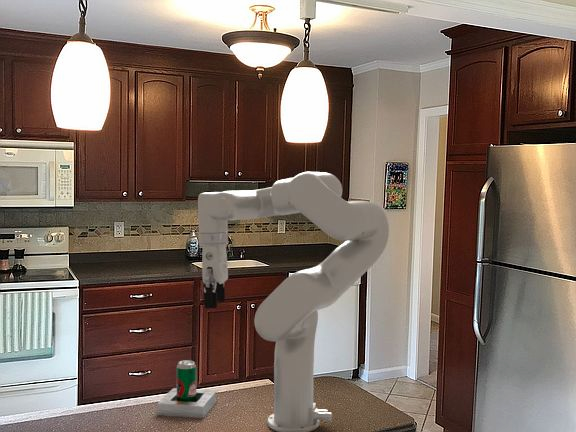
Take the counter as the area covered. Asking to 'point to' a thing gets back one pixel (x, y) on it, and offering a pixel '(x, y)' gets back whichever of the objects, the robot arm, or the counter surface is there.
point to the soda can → (186, 381)
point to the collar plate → (187, 404)
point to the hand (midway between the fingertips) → (215, 304)
